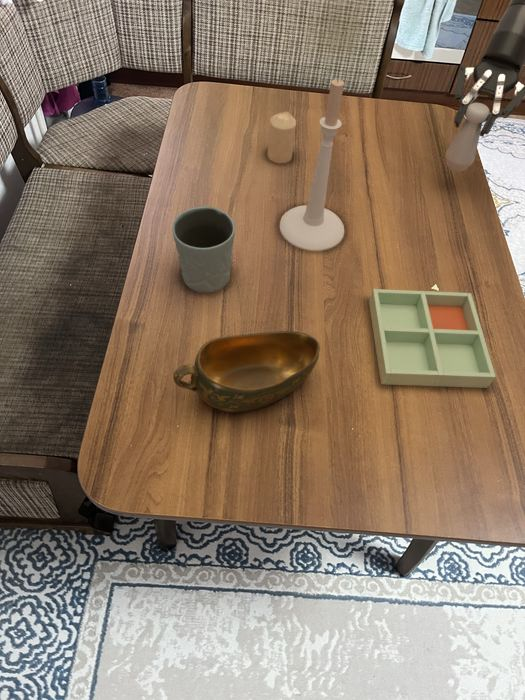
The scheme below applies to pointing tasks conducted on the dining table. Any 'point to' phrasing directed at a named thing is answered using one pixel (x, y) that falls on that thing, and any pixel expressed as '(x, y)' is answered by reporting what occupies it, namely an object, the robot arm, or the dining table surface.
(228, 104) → the dining table surface
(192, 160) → the dining table surface
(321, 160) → the candlestick
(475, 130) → the salt shaker
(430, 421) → the dining table surface
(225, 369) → the creamer
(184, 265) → the grey green cup
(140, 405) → the dining table surface
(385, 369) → the grid
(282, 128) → the candle
